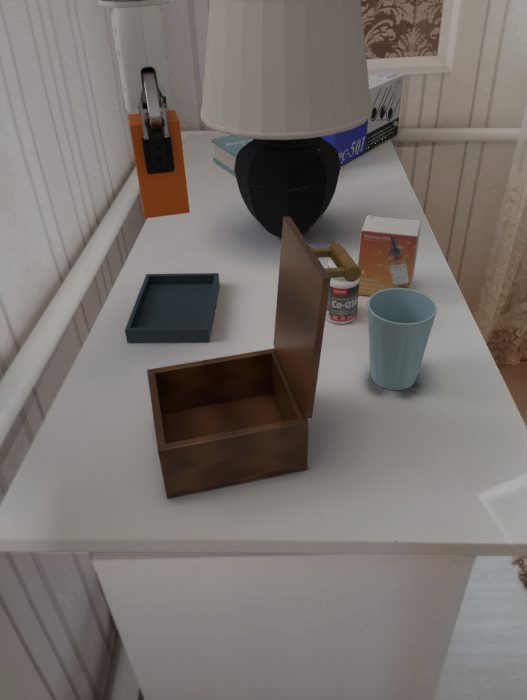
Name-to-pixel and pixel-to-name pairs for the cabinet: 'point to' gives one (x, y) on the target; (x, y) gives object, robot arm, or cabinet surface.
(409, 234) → the small box
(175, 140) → the block
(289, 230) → the lid
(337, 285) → the pill bottle
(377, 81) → the ink box
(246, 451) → the chest
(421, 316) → the cup
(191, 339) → the tray
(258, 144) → the table lamp
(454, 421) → the cabinet surface
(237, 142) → the book
